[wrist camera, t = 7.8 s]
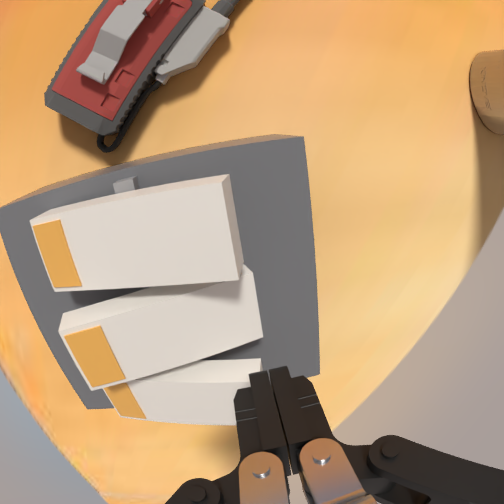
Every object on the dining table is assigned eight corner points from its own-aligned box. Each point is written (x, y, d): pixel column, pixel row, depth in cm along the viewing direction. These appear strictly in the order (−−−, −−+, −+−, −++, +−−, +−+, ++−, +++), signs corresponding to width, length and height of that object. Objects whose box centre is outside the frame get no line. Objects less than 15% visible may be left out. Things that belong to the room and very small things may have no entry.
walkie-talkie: (137, 166, 21) (284, -34, 17) (123, 174, 17) (300, -59, 13) (47, 116, 18) (193, -76, 14) (18, 116, 14) (194, -105, 10)
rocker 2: (260, 358, 17) (258, 382, 15) (268, 402, 18) (267, 425, 17) (106, 358, 18) (94, 377, 16) (128, 398, 20) (120, 418, 18)
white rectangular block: (229, 174, 13) (220, 182, 11) (243, 261, 14) (238, 281, 13) (50, 209, 14) (28, 220, 13) (71, 276, 16) (53, 292, 14)
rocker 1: (240, 260, 17) (253, 273, 15) (250, 321, 19) (264, 337, 17) (63, 313, 14) (57, 332, 12) (91, 370, 16) (91, 392, 14)
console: (273, 134, 22) (310, 137, 14) (295, 325, 28) (324, 387, 20) (39, 188, 20) (-20, 217, 13) (102, 358, 26) (83, 421, 19)
